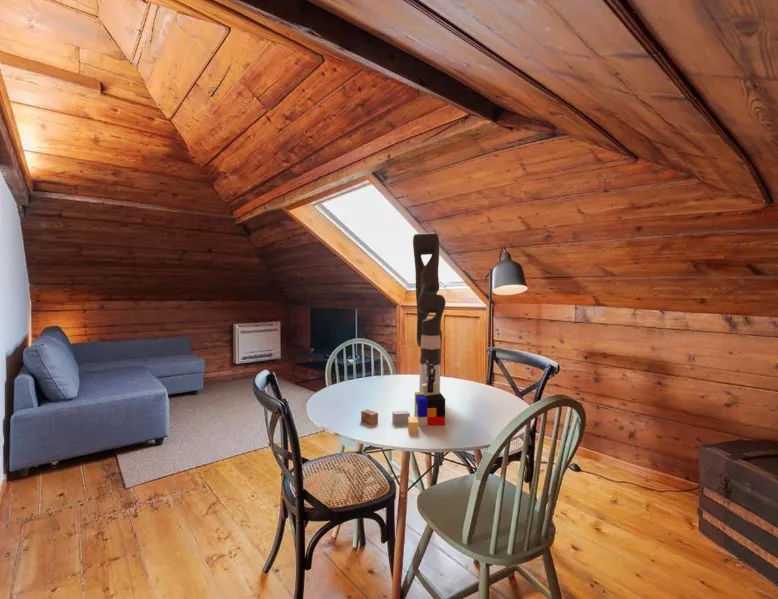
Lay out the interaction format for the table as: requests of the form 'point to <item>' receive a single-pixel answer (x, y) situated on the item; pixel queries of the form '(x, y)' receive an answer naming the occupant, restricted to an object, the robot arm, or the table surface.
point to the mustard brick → (412, 425)
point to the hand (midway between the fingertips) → (429, 390)
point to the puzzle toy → (429, 409)
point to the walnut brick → (369, 417)
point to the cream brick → (435, 389)
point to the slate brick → (400, 417)
